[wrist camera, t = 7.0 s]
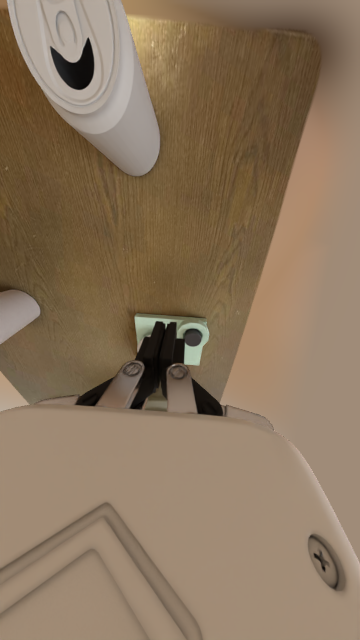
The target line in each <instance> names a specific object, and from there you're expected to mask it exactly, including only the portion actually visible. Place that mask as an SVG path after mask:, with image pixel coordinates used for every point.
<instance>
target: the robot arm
mask: <svg viewBox="0 0 360 640" xmlns="http://www.w3.org/2000/svg"><path fill="white" fill-rule="evenodd" d="M184 356H185V339H181V338H177V322H170V324H168V323H167V327H166V324H165V323H163V321H156V322H155V325H154V328H153V330H152V333H151V336H150V337H146V336H145V337H144V339H143V341H142V344H141V346H140V349H139V351H138V353H137V356H136V358H135V360H132V361H129V362H127V363H125V364H124V365H123V366H122V367H121V369H120V370H119V372H118V373H117V375H116V376H115V377H113V378H112V379H110V380H108V381H106V382H104V383H102V384H101V385H99V386H97V387H95V388H93V389H92V390H90V391H88V392H86V393H85V394H83V395H82V396H80V395H79V394H78V395H71V396H64V397H57V398H50V399H44V400H41V401H38V402H37V403H35V404H33V405H27V406H21V407H15V408H12V409H8V410H5V411H1V412H0V640H360V563H359V561H358V559H357V557H356V555H355V553H354V551H353V548H352V546H351V544H350V543H349V540H348V538H347V536H346V534H345V532H344V530H343V528H342V526H341V525H340V523H339V521H338V519H337V517H336V515H335V513H334V511H333V509H332V507H331V505H330V503H329V501H328V499H327V497H326V495H325V494H324V492H323V490H322V488H321V486H320V484H319V482H318V480H317V479H316V477H315V475H314V474H313V472H312V470H311V468H310V467H309V465H308V464H307V462H306V460H305V459H304V458H303V456H302V455H301V453H300V452H299V451H298V449H297V448H296V447H295V446H294V445H293V444H292V443H291V442H290V441H289V440H287V439H286V438H285V437H283V436H282V435H280V434H279V433H277V432H275V431H274V429H273V426H272V424H271V423H270V422H269V421H268V420H267V419H266V418H265V417H263V416H261V415H259V414H255V413H252V412H249V411H245V410H242V409H239V408H235V407H232V406H229V405H226V406H222V405H220V403H219V402H218V401H217V400H216V399H215V398H214V397H212V396H211V395H210V394H209V393H208V392H207V391H206V390H205V389H204V388H202V387H201V386H200V385H199V384H198V383H197V382H196V381H195V380H194V379H192V378H191V375H190V370H189V368H188V367H187V366H186V365H185V364H184ZM160 381H161V389H162V395H163V396H164V397H165V398H166V400H167V412H164V411H150V410H144V409H145V407H146V404H147V402H148V397H149V396H150V395H152V394H153V393H155V392H156V388H158V389H159V386H160ZM309 536H310V537H309Z"/></svg>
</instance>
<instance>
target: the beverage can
mask: <svg viewBox="0 0 360 640" xmlns="http://www.w3.org/2000/svg"><path fill="white" fill-rule="evenodd" d="M7 4H8V10H9V15H10V19H11V24H12V27H13V31H14V34H15V37H16V40H17V43H18V46H19V48H20V51H21V53H22V56H23V58H24V60H25V62H26V64H27V66H28V68H29V70H30V71H31V73H32V75H33V76H34V78H35V80H36V81H37V83H38V84H39V85H40V87H41V88H42V90H43V92H44V94H45V96H46V97H47V99H48V100H49V102H50V103H51V105H52V106H53V108H54V109H55V110H56V111H57V113H58V114H59V115H60V116H61V117H62V118H63V119H64V120H65V121H66V122H67V123H69V124H70V125H71V126H72V127H73V128H74V129H75V130H76V131H78V132H79V133H80V134H81V135H82V136H83V137H84V138H86V139H87V140H88V141H89V142H90V143H91V144H92V145H93V146H95V147H96V148H97V149H98V150H99V151H100V152H101V153H102V154H104V155H105V156H106V157H107V158H108V159H109V160H110V161H112V162H113V163H114V164H115V165H116V166H117V167H118V168H119V169H121V170H122V171H123V172H125V173H127V174H129V175H132V176H141V175H144V174H146V173H147V172H149V171H150V170H151V168H152V167H153V166H154V164H155V162H156V160H157V157H158V154H159V149H160V133H159V127H158V123H157V120H156V116H155V113H154V109H153V106H152V103H151V99H150V96H149V92H148V89H147V85H146V82H145V78H144V75H143V72H142V68H141V65H140V61H139V58H138V54H137V51H136V47H135V44H134V41H133V37H132V34H131V30H130V27H129V23H128V20H127V16H126V13H125V10H124V7H123V4H122V2H121V0H7Z"/></svg>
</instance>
